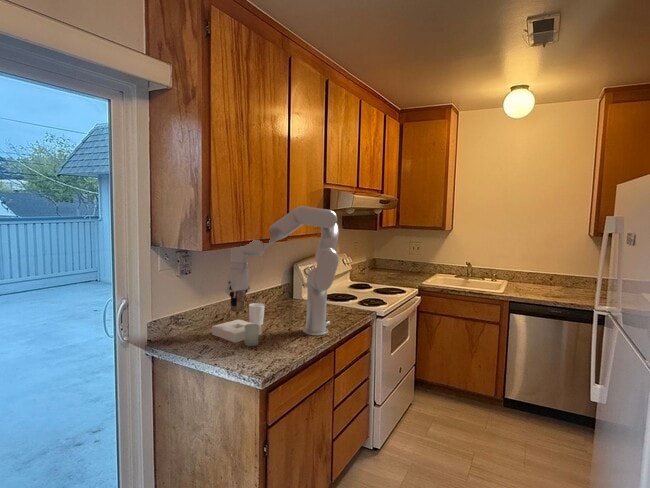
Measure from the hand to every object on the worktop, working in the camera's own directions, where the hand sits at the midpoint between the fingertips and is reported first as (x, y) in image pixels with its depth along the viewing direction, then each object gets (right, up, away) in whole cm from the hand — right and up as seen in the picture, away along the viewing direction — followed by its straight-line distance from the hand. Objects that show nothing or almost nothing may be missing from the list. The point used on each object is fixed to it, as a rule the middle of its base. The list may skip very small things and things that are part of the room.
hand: (237, 304), depth 180 cm
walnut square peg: (0, -3, 0) cm, 3 cm away
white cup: (+5, -13, +19) cm, 24 cm away
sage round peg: (+8, -16, -10) cm, 20 cm away
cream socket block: (0, -14, +1) cm, 14 cm away
